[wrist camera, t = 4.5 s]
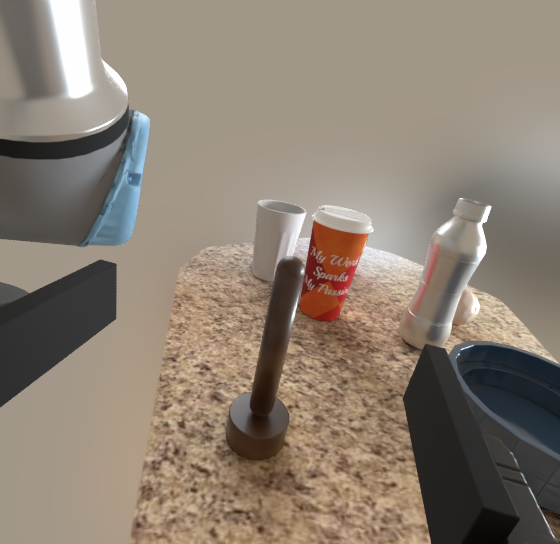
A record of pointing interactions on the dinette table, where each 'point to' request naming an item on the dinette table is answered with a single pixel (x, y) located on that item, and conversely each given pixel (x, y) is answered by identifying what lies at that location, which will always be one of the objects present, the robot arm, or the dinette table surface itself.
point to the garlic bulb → (466, 308)
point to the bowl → (516, 408)
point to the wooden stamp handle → (268, 372)
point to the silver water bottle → (445, 275)
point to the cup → (275, 235)
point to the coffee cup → (332, 259)
